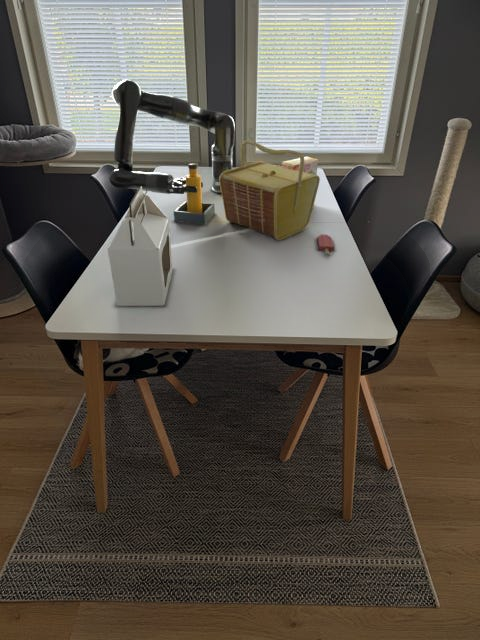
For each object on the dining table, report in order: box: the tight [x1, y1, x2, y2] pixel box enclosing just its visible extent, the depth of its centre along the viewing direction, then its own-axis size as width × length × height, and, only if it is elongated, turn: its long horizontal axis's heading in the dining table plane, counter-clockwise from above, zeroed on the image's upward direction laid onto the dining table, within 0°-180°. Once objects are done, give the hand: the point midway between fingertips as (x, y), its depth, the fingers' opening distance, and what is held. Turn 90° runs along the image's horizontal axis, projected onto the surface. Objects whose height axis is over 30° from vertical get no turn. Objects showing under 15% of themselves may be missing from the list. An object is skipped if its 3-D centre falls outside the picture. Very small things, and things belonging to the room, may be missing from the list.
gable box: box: [107, 186, 173, 307], centre depth 127 cm, size 22×13×28 cm, turn 1°
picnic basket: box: [219, 140, 321, 241], centre depth 167 cm, size 29×26×30 cm
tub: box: [173, 200, 216, 225], centre depth 180 cm, size 13×13×5 cm
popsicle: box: [316, 234, 335, 255], centre depth 160 cm, size 5×2×15 cm
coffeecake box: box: [281, 156, 319, 175], centre depth 188 cm, size 15×7×20 cm, turn 131°
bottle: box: [185, 162, 203, 214], centre depth 175 cm, size 6×6×20 cm
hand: (199, 187), depth 174 cm, fingers closed on bottle, 6 cm apart
